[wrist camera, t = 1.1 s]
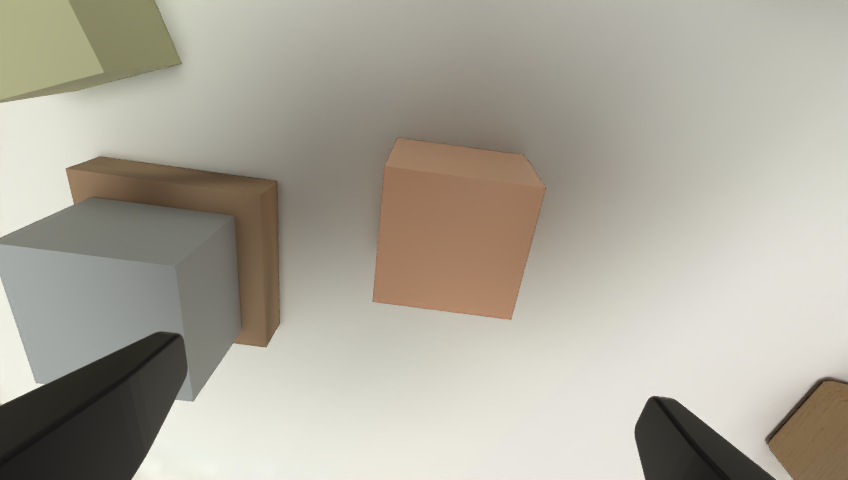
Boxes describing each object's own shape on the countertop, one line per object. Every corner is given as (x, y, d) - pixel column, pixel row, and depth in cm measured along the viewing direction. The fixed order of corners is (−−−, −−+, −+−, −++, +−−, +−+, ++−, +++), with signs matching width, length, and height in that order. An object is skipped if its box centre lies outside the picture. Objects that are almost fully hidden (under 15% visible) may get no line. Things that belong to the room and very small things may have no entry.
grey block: (234, 215, 18) (174, 266, 14) (241, 330, 21) (193, 401, 17) (91, 197, 18) (-11, 242, 14) (116, 315, 21) (35, 382, 16)
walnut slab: (281, 177, 20) (260, 195, 18) (283, 317, 23) (266, 347, 21) (108, 153, 20) (65, 168, 18) (136, 297, 23) (103, 326, 21)
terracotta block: (523, 154, 19) (546, 187, 15) (498, 264, 21) (511, 319, 17) (397, 137, 18) (384, 165, 14) (386, 249, 21) (372, 301, 17)
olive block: (120, -84, 15) (5, -124, 11) (183, 62, 18) (104, 72, 14) (3, -46, 16) (-145, -73, 12) (77, 90, 18) (-28, 107, 14)
